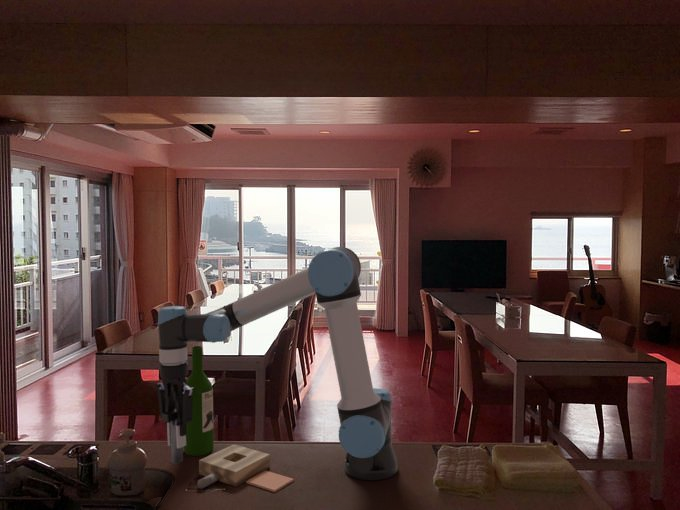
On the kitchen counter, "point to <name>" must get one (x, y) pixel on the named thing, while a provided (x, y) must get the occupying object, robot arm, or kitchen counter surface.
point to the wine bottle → (200, 409)
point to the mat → (270, 481)
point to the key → (173, 435)
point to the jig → (232, 466)
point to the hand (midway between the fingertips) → (177, 445)
